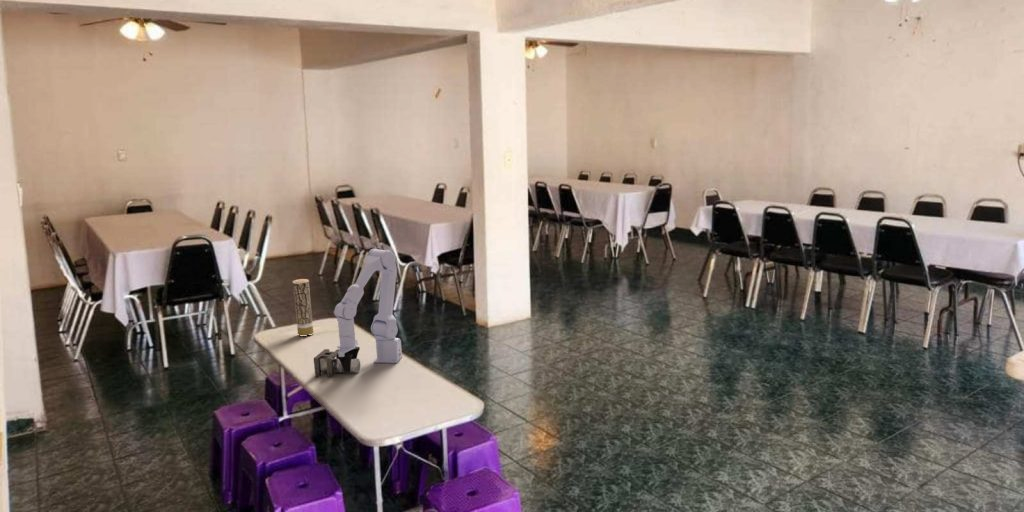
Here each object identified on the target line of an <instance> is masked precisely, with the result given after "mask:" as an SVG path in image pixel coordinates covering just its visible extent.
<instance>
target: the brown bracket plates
mask: <svg viewBox="0 0 1024 512" xmlns="http://www.w3.org/2000/svg"><path fill="white" fill-rule="evenodd" d="M338 352H339V348H337V349H335V350H334V351H330V348H326V349H325V348H324V349H323V350H322V351H321V352H319V353H318V354H317V355H316V356H314V357H313V368H314V377H315V378H321V377H322V376H323V375H322V372H321V364H320V359H321V358H326V360H327V371H328V372H327V378H332V379H333V378H335V372H334V366H333V359H334V358H337V354H338ZM337 359H338V358H337Z"/></svg>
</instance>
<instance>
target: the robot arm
mask: <svg viewBox="0 0 1024 512" xmlns="http://www.w3.org/2000/svg"><path fill="white" fill-rule="evenodd" d="M364 259H365V261H364V265H363V267H362V269H361V271H360V273H359V275H358V277H357V279H356V280H355V281H356V282H355V283H354V284H352V285H351V284H350V286H349V287H347V289H346V292H345V294H344V296H343V298H342V299H341V301H340V302H338V303H337V304H336V306H335V307H334V310H333V314H334V316H335V317H336V320H337V325H338V336H339V338H338V340H339V344H338V345H337V346H336V347H337V349H339V352H338V354H337V358H338V359H339V360H340V362H341V364H342V367H343V370H344V372H350V369H351V359H358V355H359V351H360V346H358V345H359V344H358V339H356V333H355V319H354V318H355V317H356V315H357V312H358V311H357V308H358V305H359V303H360V301H361V299H362V297H363V296H364V294H365V291H364V288H365V286H366V285H367V283H368V282H369V281H370V279H371V277H372V276H373V274H374V273H375V272H378V271H380V273H381V284H380V292H379V304H378V313H377V314H375V315H374V317H373V321H372V323H371V326H370V332H371V334H372V335H373V336H374V337H373V338H375V348H376V349H375V350H376V358H375V359H374V361H373V363H379V364H380V363H381V364H382V363H384V364H385V363H389V364H390V363H391V364H395V363H398V362H399V361H400V360H401V359H402V358H403V353H402V340H401V338H399V337H397V335H398V330H399V329H398V325H397V319H396V317H395V316H394V315H393V313H394V312H393V311H394V303H395V293H396V283H397V282H396V281H397V274H398V269H397V264H396V262H397V256H396V255H395V253H394V252H393V251H392V250H390V249H387V250H385V249H378V248H372V249H370V250H369V251H368V253H367V255H366V256H365V258H364Z"/></svg>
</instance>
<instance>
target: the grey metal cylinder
mask: <svg viewBox="0 0 1024 512" xmlns="http://www.w3.org/2000/svg"><path fill="white" fill-rule="evenodd" d="M320 364H321V373H328V371H327V360H326V358H321V359H320ZM333 366H334V373H341V374H342V373H344V374H345V373H347V374H352V373H354V374H356V373H357V374H358V373H360V370H361V359H360V358H357V359H351V369H350V372H344V370H343V367H342V364H341V362H340V360H339V359H337V358H336V357H335V358H334V359H333Z"/></svg>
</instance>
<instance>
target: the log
mask: <svg viewBox="0 0 1024 512" xmlns="http://www.w3.org/2000/svg"><path fill="white" fill-rule="evenodd" d="M292 288H293V300H294V308H295V309H294V310H295V319H296V320H295V321H296V328H297V329H296V330H297V335H298V334H299V335H309V334H312V333H313V334H314V324H313V322H314V321H313V314H312V313H313V312H312V311H313V310H312V301H311V291H310V280H309V278H299V279H295V280H292ZM313 334H312V335H313ZM299 335H298V336H299Z"/></svg>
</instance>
